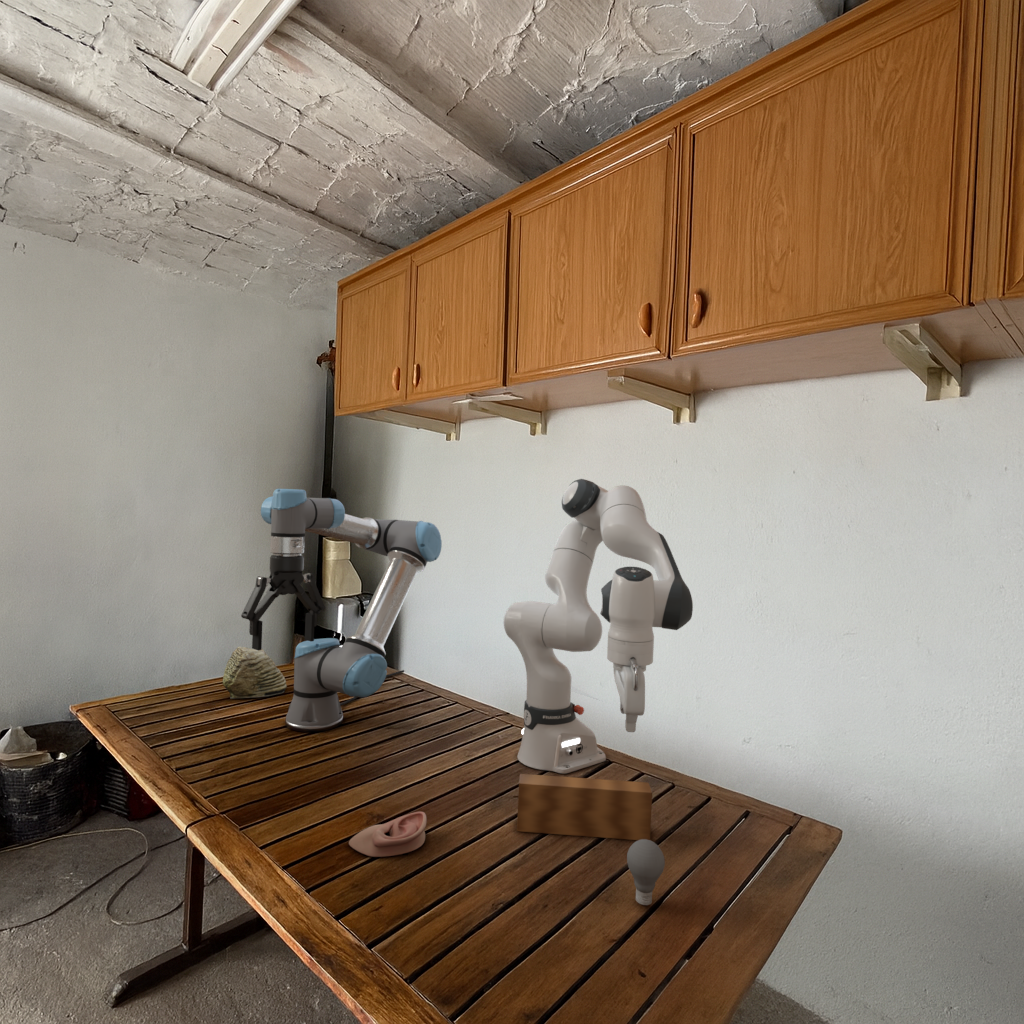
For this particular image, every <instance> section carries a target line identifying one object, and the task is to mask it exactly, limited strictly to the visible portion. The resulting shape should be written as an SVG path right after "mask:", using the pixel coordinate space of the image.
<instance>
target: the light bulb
mask: <svg viewBox="0 0 1024 1024" xmlns="http://www.w3.org/2000/svg"><path fill="white" fill-rule="evenodd" d="M626 862H627V863H626V864H627V867H628V869H629V871H630V873H631V876H632V877H633V883H634V886H635V901H636V902H637V903H638V904H639V905H642V906H649V905H651V904H652V903H653V891H654V889H655V887H656V883H657V881H658V879H659V878H660V877H661V875H662V874H663V872H664V869H665V866H666V861H665V856H664V853H663V851H662V849H661V848H660V846H659V845H658V844H657V843H656V842H654V841H652V840H651V839H650V840H647V839H641V840H635V841H634V842H633V843H631V845H630V846H629V848H628V851H627V853H626Z"/></svg>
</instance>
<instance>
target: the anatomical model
mask: <svg viewBox="0 0 1024 1024" xmlns="http://www.w3.org/2000/svg"><path fill="white" fill-rule="evenodd" d="M427 821H428V819H427V814H426V813H425V812H424V811H414V812H411V813H408V814H404V815H402V816H399V817H396V818H395V819H391V820H390V821H388V822H385V823H382V824H381V823H380V824H374V825H371V826H369V827H366V828H364V829H362V830H361V831H359V832H358V833H356V834H355V835H354V836H352V837H351V838H350V839H349V841H348V845H349V847H351V848H352V849H353V850H355V851H356V852H358V853H360V854H362V855H365V856H367V857H371V858H372V857H373V858H382V857H391V856H399V855H403V854H407V853H410V852H412V851H413V852H414V851H415V850H417V849H419V848H420V847H422V846H423V845H424V843H425V842H426V832H425V829H426V827H427Z"/></svg>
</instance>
